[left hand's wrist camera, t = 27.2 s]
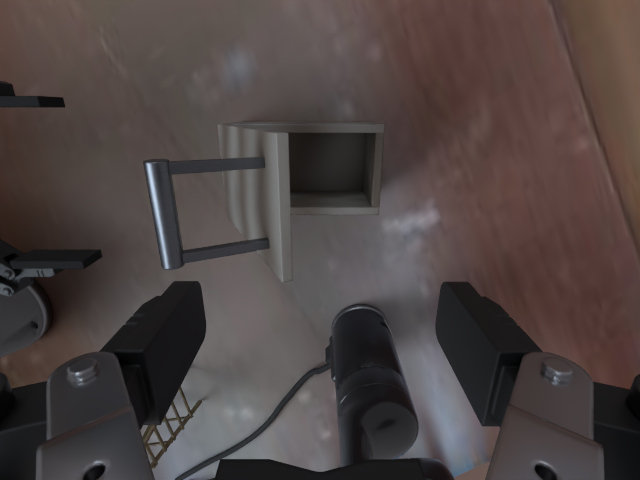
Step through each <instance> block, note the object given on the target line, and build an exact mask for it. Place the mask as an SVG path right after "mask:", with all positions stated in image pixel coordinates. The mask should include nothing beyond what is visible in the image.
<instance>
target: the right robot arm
mask: <svg viewBox="0 0 640 480" xmlns="http://www.w3.org/2000/svg"><path fill="white" fill-rule="evenodd" d="M0 107H65V104H64V100H63V98H62V97H44V96H15V93H14V90H13V86H12V84H10V83H7V82H5V81H0ZM101 257H102V254H101V250H32V251H30V252H28V253H26V254H24V253H22V252H21V251H19V250H17V249H16V248H14V247H13V246H11V245H9V244H8V243H6V242H4V241H3V240H1V239H0V357H2V356H5V355H8V354H10V353H13V352H15V351H18V350H20V349H23V348H25V347H28V346H30V345H31V344H33V343H34V342H36V341H37V340H38V339H39V338H40V337H42V336H43V335H44V334H45V333H46V332H47V331H48V329H49V327H50V325H51V322H52V309H51V305H50V302H49V299H48V297H47V296H46V294H45V292H44V291H43V290H42V288H41V287H40V286H39V285H38V284H37V283H36V282H35V281H34V278H33V277H52V276H54V275H56V274H58V273H59V272H61V271H63V270H64V269H85V268H86V267H88V266H89V265H91V264H92V263H94V262H95V261H97V260H98V259H100V258H101Z"/></svg>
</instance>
